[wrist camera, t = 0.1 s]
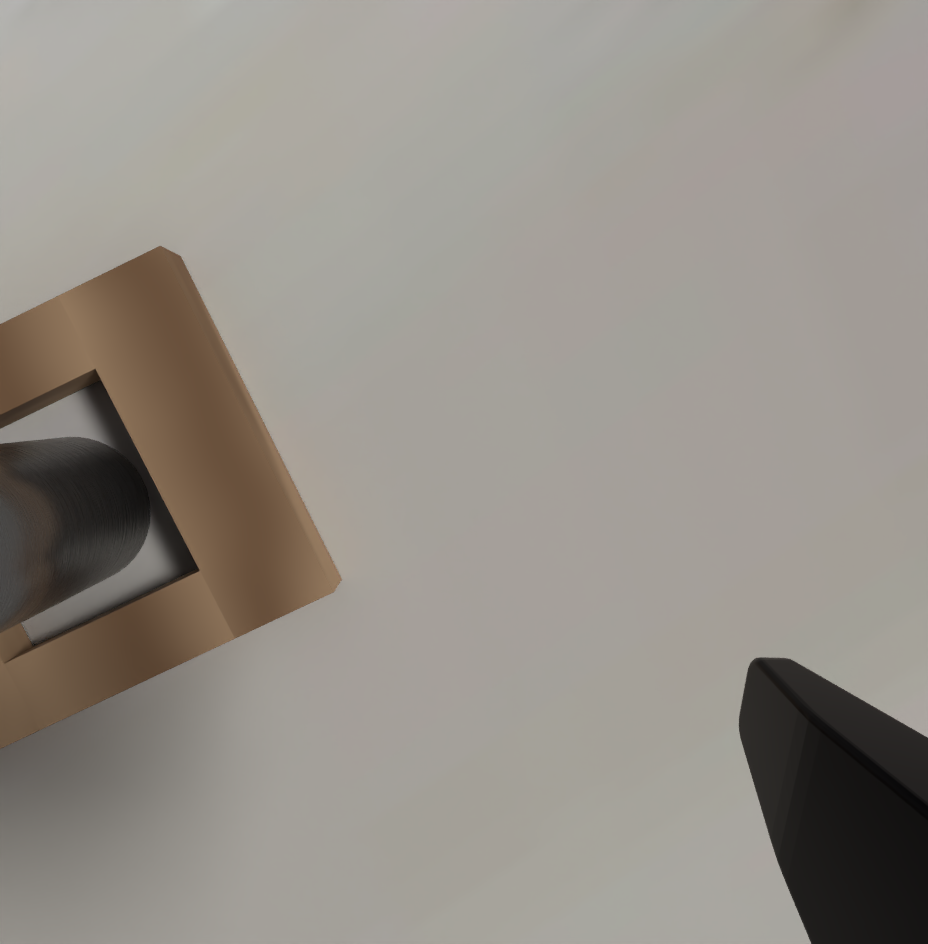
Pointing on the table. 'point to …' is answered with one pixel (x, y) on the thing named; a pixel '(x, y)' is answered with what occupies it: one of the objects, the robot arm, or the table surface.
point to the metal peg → (64, 521)
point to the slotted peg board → (159, 486)
